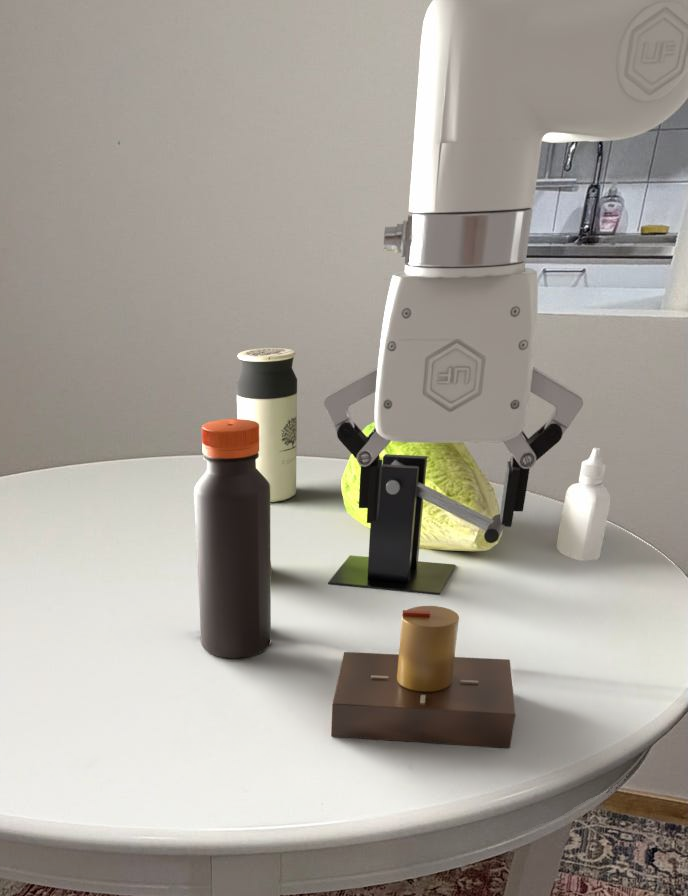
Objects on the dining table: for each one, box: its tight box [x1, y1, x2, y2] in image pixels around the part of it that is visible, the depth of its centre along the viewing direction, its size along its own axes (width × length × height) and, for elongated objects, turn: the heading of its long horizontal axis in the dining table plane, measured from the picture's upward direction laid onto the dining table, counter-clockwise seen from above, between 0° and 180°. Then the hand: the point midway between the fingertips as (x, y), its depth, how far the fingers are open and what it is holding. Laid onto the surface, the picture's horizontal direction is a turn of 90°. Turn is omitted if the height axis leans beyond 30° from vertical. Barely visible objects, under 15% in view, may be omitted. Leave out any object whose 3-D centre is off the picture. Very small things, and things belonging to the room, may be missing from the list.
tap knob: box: [397, 605, 460, 692], centre depth 76 cm, size 4×4×6 cm
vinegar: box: [193, 418, 272, 659], centre depth 87 cm, size 7×7×20 cm
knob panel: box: [330, 651, 516, 749], centre depth 79 cm, size 14×10×3 cm
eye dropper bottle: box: [556, 447, 611, 562], centre depth 104 cm, size 4×6×12 cm
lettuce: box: [340, 421, 504, 552], centre depth 111 cm, size 15×24×14 cm, turn 22°
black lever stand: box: [327, 454, 456, 596], centre depth 100 cm, size 12×9×13 cm
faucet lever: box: [391, 460, 505, 543], centre depth 97 cm, size 13×5×2 cm, turn 68°
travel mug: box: [236, 347, 298, 503], centre depth 128 cm, size 8×8×18 cm
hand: (438, 519), depth 70 cm, fingers open, 9 cm apart
